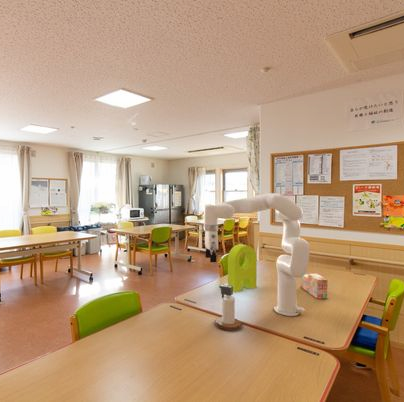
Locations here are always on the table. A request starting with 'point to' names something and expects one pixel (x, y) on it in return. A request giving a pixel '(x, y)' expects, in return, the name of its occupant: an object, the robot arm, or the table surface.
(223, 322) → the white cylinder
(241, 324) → the base
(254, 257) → the decorative object
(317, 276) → the pink patterned box
